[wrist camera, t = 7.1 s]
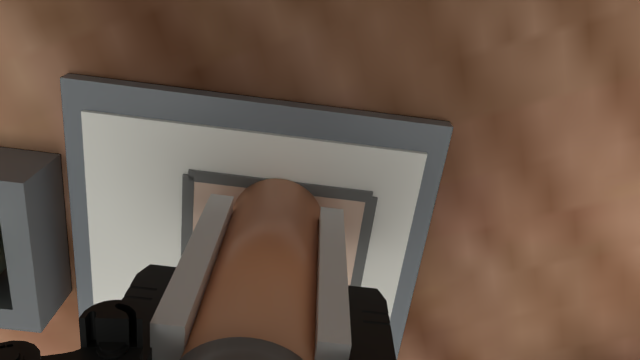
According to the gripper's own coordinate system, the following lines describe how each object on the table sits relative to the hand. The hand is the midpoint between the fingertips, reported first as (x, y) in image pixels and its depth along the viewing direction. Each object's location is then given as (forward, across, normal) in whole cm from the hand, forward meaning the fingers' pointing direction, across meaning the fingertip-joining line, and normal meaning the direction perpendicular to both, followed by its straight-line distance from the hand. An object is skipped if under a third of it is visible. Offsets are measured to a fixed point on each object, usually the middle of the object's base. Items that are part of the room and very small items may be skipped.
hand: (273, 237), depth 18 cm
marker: (+1, 0, 0) cm, 1 cm away
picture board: (+2, -1, -5) cm, 6 cm away
